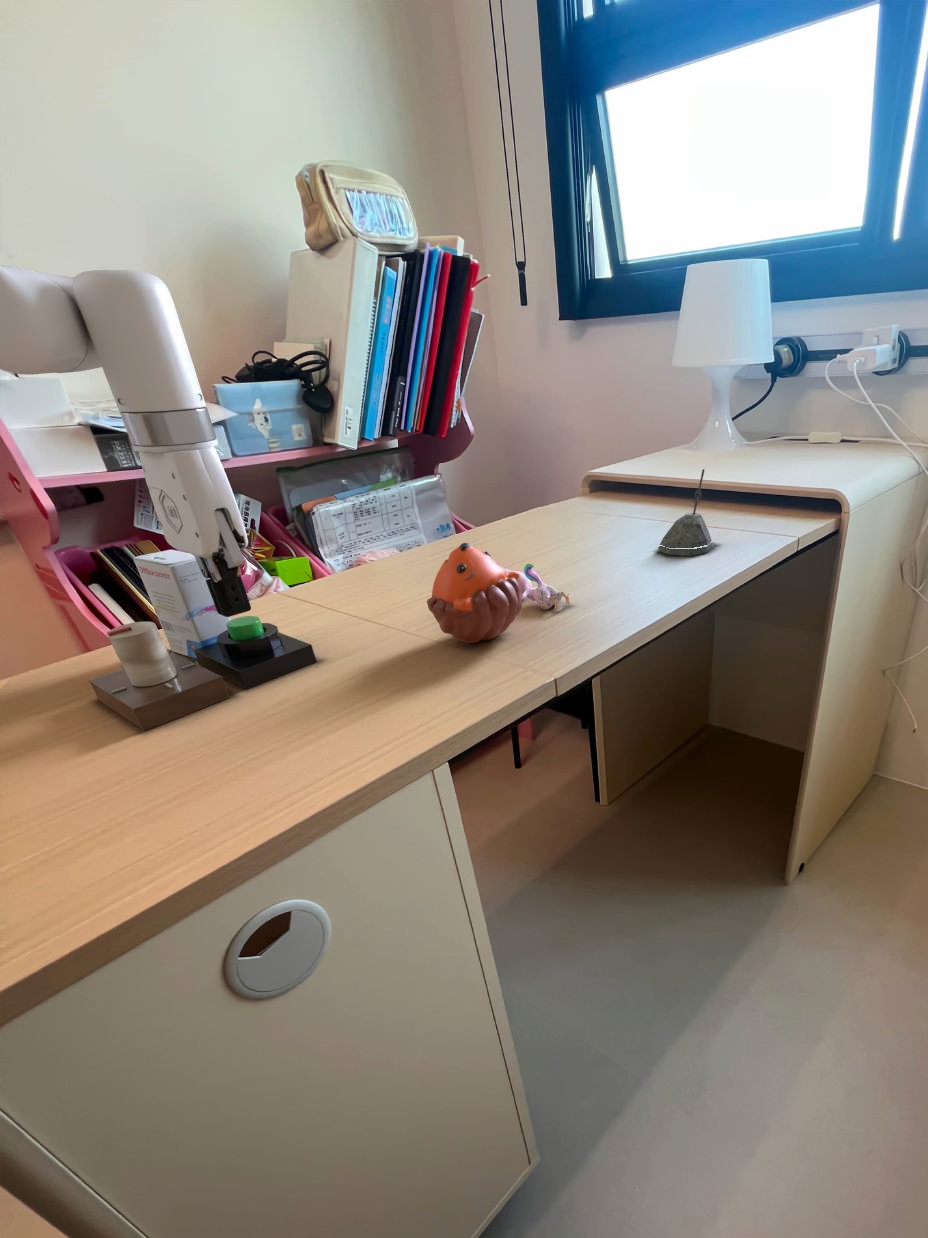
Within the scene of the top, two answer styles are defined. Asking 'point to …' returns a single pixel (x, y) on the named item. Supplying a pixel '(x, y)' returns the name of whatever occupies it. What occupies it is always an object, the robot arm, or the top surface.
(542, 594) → the pink plastic figure
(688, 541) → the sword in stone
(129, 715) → the dimmer panel
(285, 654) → the switch box
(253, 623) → the green button
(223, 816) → the top surface
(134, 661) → the dimmer knob
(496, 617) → the orange toy creature
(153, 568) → the ink box
